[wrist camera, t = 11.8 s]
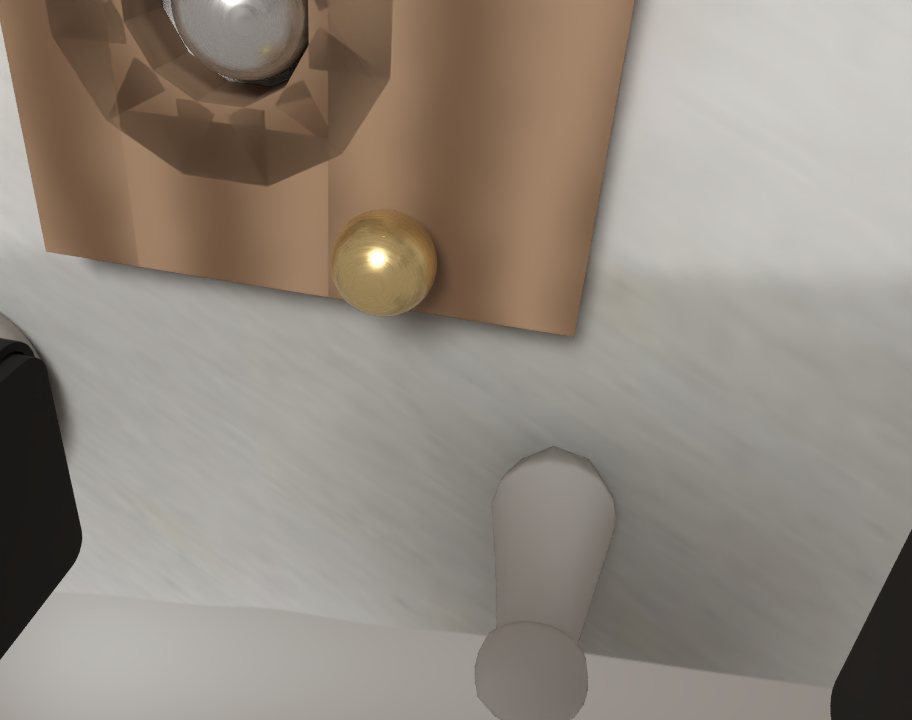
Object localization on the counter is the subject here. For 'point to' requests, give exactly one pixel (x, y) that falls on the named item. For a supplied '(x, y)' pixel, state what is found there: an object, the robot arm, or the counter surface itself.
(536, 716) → the salt shaker
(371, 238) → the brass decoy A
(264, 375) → the counter surface
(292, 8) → the steel ball
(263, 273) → the board
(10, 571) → the robot arm
